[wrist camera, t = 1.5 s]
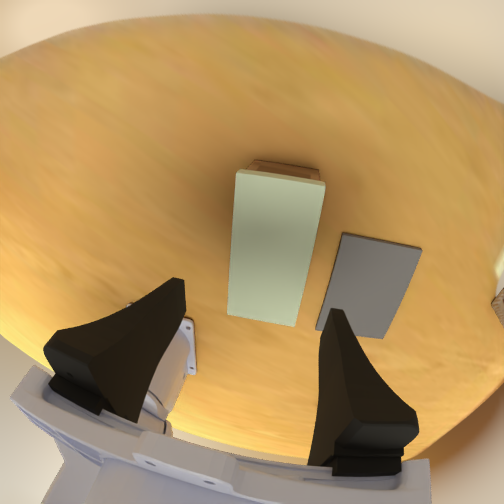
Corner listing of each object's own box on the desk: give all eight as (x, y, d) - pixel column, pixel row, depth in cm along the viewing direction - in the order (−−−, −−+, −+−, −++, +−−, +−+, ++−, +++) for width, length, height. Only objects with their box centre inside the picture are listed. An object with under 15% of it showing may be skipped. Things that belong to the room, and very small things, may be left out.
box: (296, 284, 25) (293, 315, 21) (243, 275, 25) (233, 304, 22) (318, 169, 20) (320, 184, 16) (254, 160, 20) (243, 172, 17)
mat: (382, 336, 26) (382, 339, 26) (315, 327, 27) (315, 330, 26) (420, 248, 21) (422, 250, 21) (342, 232, 22) (342, 234, 21)
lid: (295, 313, 22) (294, 326, 20) (231, 301, 22) (226, 314, 21) (324, 179, 17) (325, 186, 15) (242, 167, 17) (236, 172, 16)
